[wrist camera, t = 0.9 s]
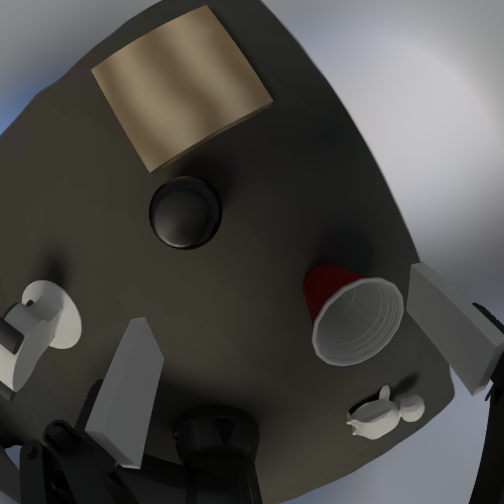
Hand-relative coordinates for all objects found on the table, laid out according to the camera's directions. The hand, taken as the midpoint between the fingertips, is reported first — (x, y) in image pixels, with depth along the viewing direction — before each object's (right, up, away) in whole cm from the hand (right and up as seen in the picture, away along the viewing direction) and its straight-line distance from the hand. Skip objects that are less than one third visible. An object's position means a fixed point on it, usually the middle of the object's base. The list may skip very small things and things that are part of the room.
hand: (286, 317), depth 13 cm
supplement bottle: (-9, +9, +20) cm, 24 cm away
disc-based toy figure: (-31, -6, +21) cm, 38 cm away
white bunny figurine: (+23, -27, +35) cm, 50 cm away
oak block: (-10, +22, +16) cm, 29 cm away
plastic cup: (+8, -1, +25) cm, 27 cm away
